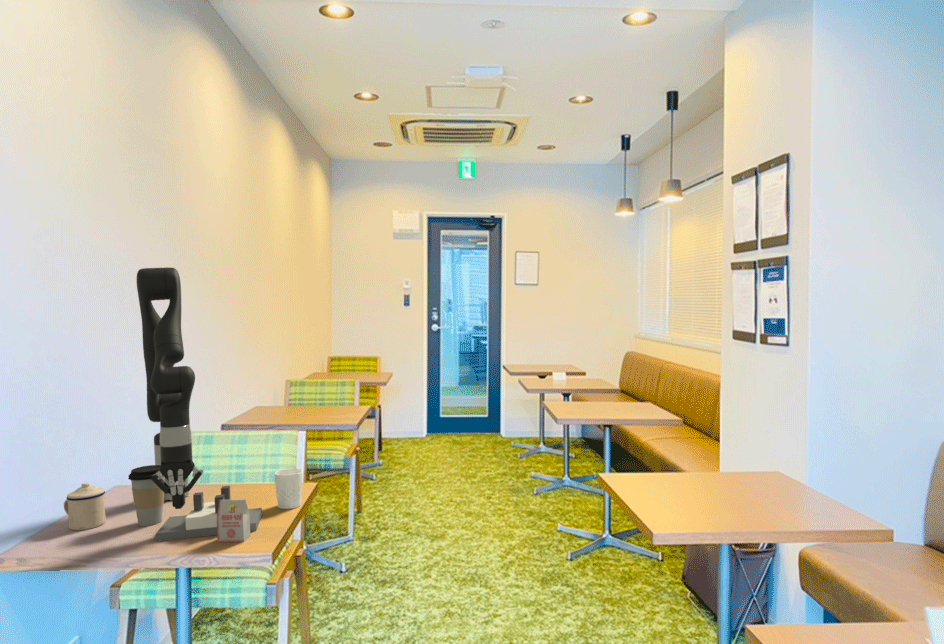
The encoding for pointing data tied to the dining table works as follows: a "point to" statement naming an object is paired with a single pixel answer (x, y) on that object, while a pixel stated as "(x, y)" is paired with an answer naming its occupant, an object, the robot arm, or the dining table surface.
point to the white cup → (288, 488)
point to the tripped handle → (198, 501)
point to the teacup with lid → (85, 507)
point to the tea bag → (233, 521)
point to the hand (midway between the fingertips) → (178, 507)
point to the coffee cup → (147, 495)
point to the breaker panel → (180, 527)
